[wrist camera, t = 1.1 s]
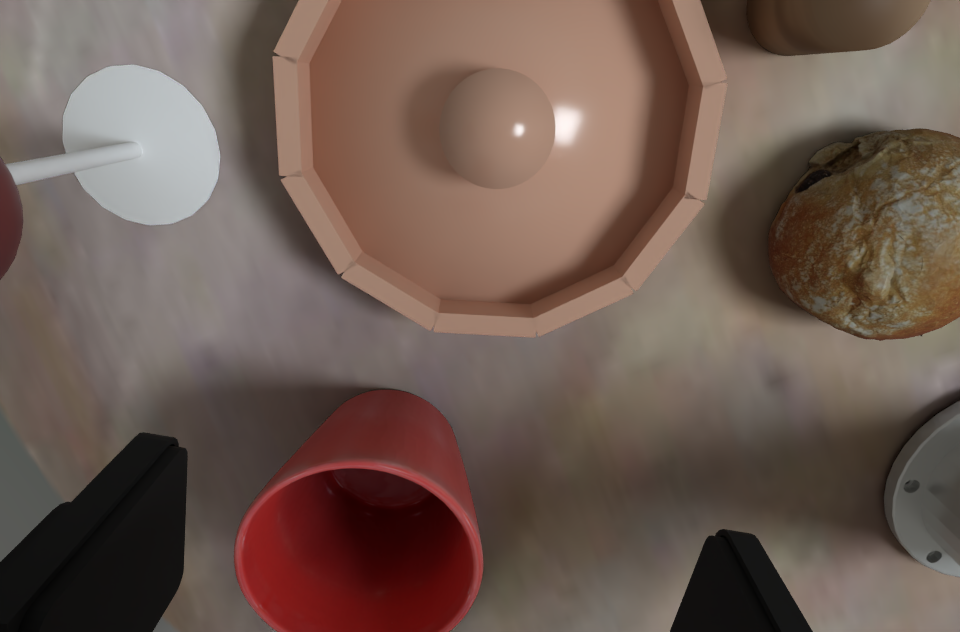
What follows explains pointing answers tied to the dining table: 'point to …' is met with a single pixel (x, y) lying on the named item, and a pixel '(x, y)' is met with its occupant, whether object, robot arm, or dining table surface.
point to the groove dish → (497, 149)
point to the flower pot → (365, 526)
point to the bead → (830, 24)
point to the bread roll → (874, 235)
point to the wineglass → (124, 152)
